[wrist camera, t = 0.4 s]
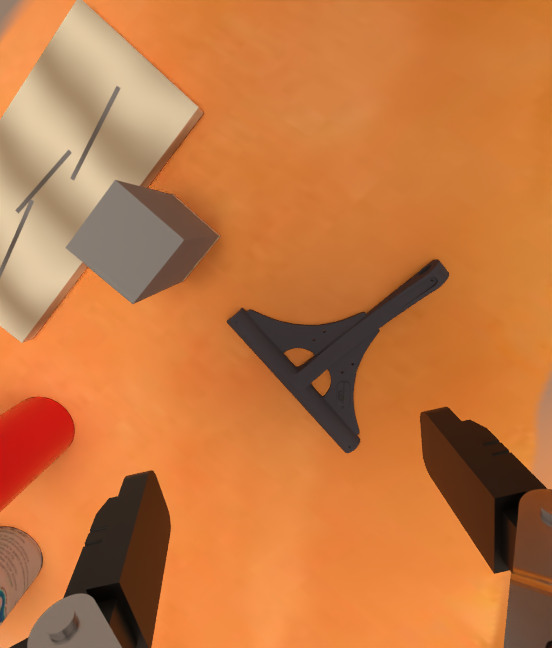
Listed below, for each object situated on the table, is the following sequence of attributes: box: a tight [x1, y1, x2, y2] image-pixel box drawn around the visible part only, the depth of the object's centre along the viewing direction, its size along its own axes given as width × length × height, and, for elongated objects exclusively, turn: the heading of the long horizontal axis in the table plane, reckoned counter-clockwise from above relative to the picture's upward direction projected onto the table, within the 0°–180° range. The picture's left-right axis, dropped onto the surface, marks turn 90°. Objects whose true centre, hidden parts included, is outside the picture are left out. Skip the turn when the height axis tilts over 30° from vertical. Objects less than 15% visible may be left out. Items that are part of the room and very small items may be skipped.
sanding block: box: [66, 180, 221, 304], centre depth 27 cm, size 5×5×10 cm
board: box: [0, 0, 204, 343], centre depth 30 cm, size 22×10×2 cm, turn 139°
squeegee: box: [227, 260, 449, 453], centre depth 32 cm, size 14×15×3 cm
